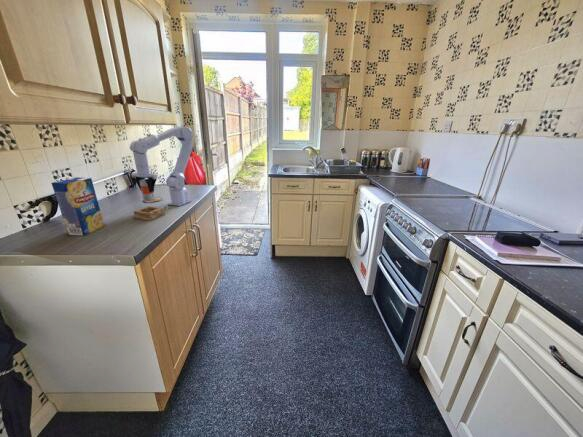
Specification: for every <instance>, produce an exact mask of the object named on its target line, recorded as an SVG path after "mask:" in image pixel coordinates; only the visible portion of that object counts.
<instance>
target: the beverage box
mask: <svg viewBox="0 0 583 437" xmlns="http://www.w3.org/2000/svg"><path fill="white" fill-rule="evenodd" d="M51 186H52V189H53V193H54V195H55V198H56V201H57V204H58V207H59V211H60V214H61V216H62V219H63V223H64V226H65V228H66V231H67V234H68V236H86V235H88V234H90V233H92V232H95V231H96V230H98V229H100V228H103V227H105V223H104V220H103V216H102V212H101V208H100V204H99V201H98V197H97V193H96V191H95V190H96V189H95V186H94V182H93V179H92V177H76V176H75V177H71V178H67V179H63V180H58V181H54V182H51Z"/></svg>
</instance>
